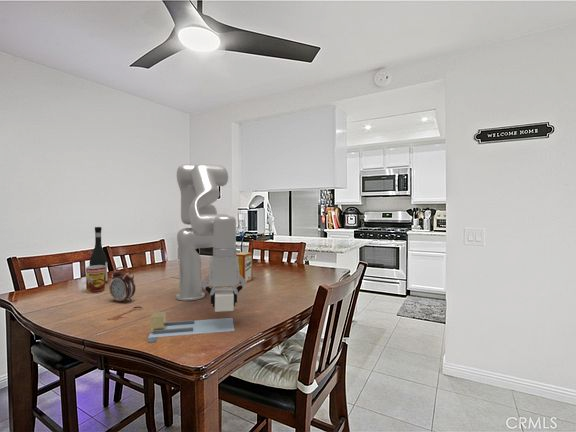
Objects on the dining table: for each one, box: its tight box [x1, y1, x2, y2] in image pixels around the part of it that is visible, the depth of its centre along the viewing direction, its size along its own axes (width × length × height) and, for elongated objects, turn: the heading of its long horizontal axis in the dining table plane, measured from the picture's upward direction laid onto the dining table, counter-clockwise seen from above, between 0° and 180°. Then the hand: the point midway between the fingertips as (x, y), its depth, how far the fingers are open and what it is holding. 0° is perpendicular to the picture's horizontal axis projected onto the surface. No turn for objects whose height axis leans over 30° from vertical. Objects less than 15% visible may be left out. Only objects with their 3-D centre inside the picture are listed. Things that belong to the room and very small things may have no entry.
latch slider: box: [149, 310, 167, 334], centre depth 102 cm, size 5×4×5 cm
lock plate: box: [147, 317, 235, 344], centre depth 105 cm, size 12×26×2 cm, turn 103°
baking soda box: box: [236, 251, 254, 285], centre depth 174 cm, size 10×6×16 cm
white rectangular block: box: [214, 287, 235, 313], centre depth 107 cm, size 9×6×5 cm, turn 13°
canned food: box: [85, 265, 106, 295], centre depth 152 cm, size 8×8×12 cm
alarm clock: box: [108, 266, 136, 304], centre depth 136 cm, size 11×5×15 cm, turn 70°
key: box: [107, 306, 143, 321], centre depth 121 cm, size 6×1×15 cm
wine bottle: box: [89, 226, 108, 284], centre depth 166 cm, size 8×8×30 cm
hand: (223, 304), depth 107 cm, fingers closed on white rectangular block, 6 cm apart
